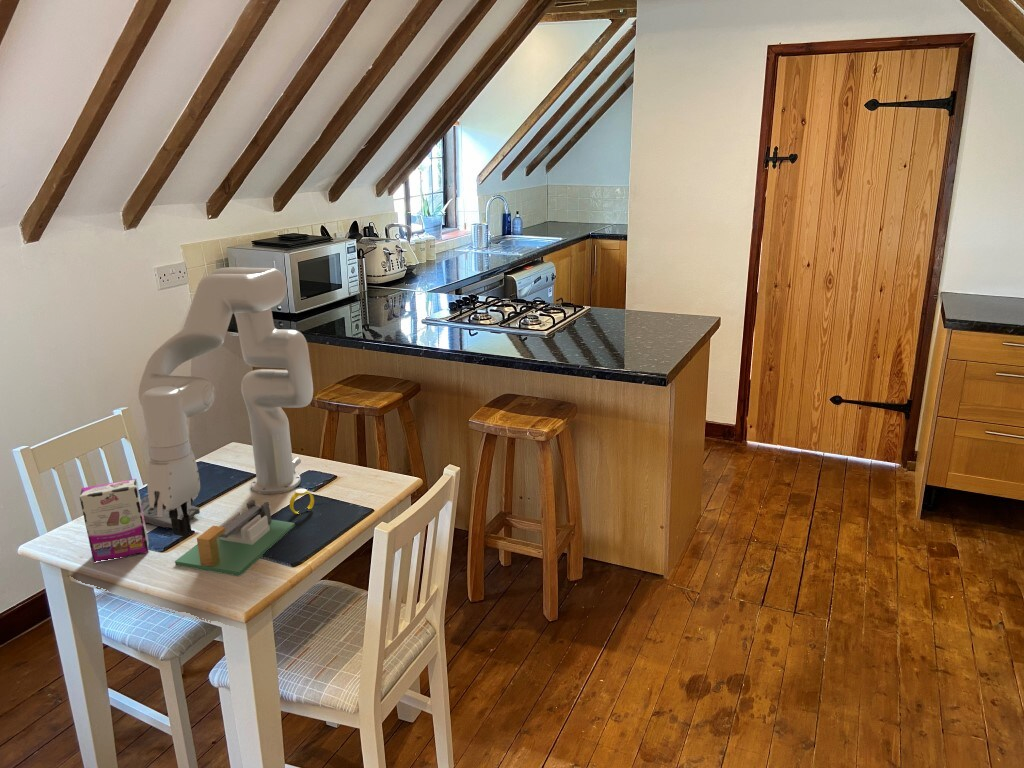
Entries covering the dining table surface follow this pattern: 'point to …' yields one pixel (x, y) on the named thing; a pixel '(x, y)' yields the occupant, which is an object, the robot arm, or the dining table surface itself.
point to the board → (241, 543)
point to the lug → (209, 546)
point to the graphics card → (152, 518)
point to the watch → (299, 493)
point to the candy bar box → (114, 520)
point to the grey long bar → (241, 520)
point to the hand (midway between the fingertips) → (182, 533)
